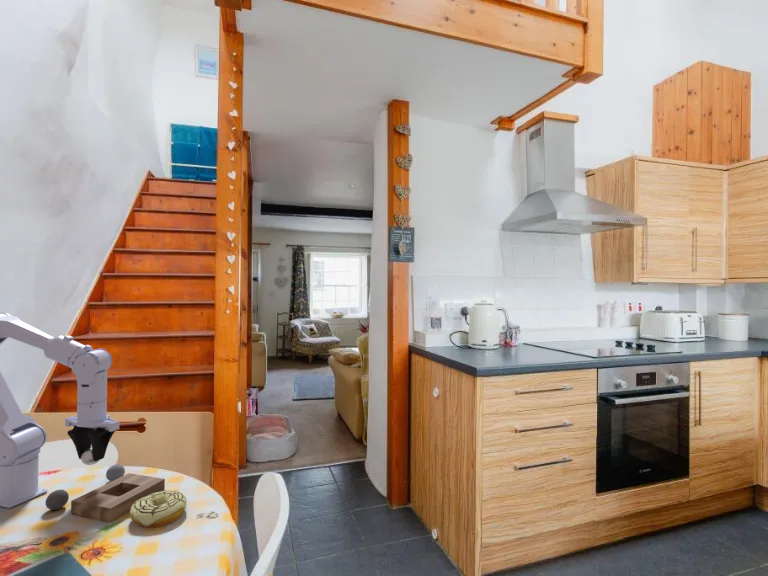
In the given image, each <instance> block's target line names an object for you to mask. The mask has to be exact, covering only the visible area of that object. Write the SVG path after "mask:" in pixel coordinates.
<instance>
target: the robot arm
mask: <svg viewBox="0 0 768 576" xmlns="http://www.w3.org/2000/svg"><path fill="white" fill-rule="evenodd" d="M9 338H11V339H13V340H16V341H19V342H21V343H23V344H26V345H29V346H32V347H34V348H37V349H40V350H42V351H43V353H44V356H45V357H46V358H47V359H49V360H51V361H54V362H57V363H59V364H61V365H63V366H66V367H68V368H70V369H71V371H72V373H73V374H74V375H75V377H76V383H77V388H76V389H77V392H76V393H77V395H76V396H77V398H76V399H77V402H76V403H77V404H76V405H77V406H76V407H77V408H76V415H73V416H69V417H65V418H64V419H65V421H64V422H65V423H64V427H73V428H72V429H70V430H68V431H67V432H66V433H67V434H66V435H68V437H69V438H70V439H71V441H72V442H73V445H74V447H75V450H76V453H77V454H76V455H77V456H78V459H79V460H81V456H82V454H83V452H84V451H85V450H86V449H88V448H91V447H92V454H93V460H94V461H98V460H99V461H101V460H102V459H104V458H105V455H106V452H107V448H108V445H109V443H110V440H111V439H112V437H113V435H114V433H115V432H116V431H118V430H120V420H116V419H114V418H111V415H110V414H107V413H108V412H107V411H108V410H107V409H108V405H107V403H108V402H107V401H108V400H107V399H108V370H109V369H110V368H111V367H112V366H113V365H112V364H113V357H112V354H111V353H110V352H109V351H107V350H106V349H105V348H96V349H93V346H92V345H90V344H86V345H85V344H83V343H80V342H79V341H76V340H74V336H71V335H58V336H56V337H54V336H52V335H50V334H48V333H46V332H44V331H43V330H40V329H38V328H37V327H34V326H32V325H30V324H28V323H26V322H24V321H22V320H21V319H20V318H19V317H18V316H16V315H15V316H14V315H11V314H9V313H7V312H1V311H0V346H1V345H2V344H3V343H4V342H5V341H6V340H7V339H9ZM47 439H48V435H47V431H46V430H45V428H44V427H43V426H41V425H39V424H38V423H37V421H36V419H35V418H34V417H31V416H29V415H26V414H24V413H22V410H21V409H20V406H19V405H18V403H17V401H16V399H15V397H14V395H13V393H12V392H11V389H10V387H9V385H8V384H7V381H6V379H5V378H4V376H3V374H2V372H1V371H0V507H4V508H7V509H10V508H13V507H16V506H18V505H20V504H22V503H24V502H27V501H29V500H31V499H33V498H35V497H38V496H41V495H43V494H45V493H47V492H48V490H49V489H47V488H43V487H39V466H40V465H39V461H40V459H39V457H40V456H39V455H40V453H41V448H42V447H43V446H44V445H45V444H46V442H47ZM99 461H98V462H99Z"/></svg>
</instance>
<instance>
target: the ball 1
mask: <svg viewBox="0 0 768 576" xmlns="http://www.w3.org/2000/svg"><path fill="white" fill-rule="evenodd" d="M69 498H70V497H69V493H68V492H67V491H66V490H64V489H56V490H54V491H52V492H51V493H50V494H48V495H47V497H46V499H45V501H44V502H45V506H46V508H47V509H48V510H50V511H58V510H60V509H62V508H63V507H64V506H66V504H67V503H68V501H69Z"/></svg>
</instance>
